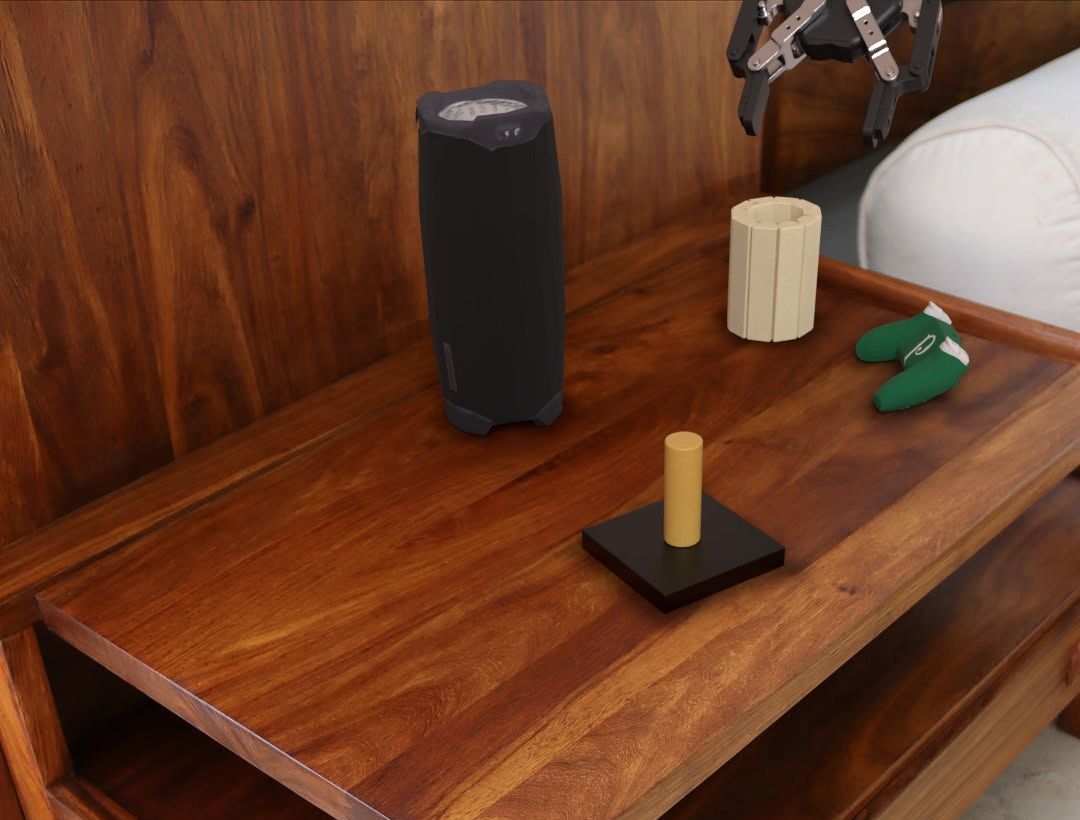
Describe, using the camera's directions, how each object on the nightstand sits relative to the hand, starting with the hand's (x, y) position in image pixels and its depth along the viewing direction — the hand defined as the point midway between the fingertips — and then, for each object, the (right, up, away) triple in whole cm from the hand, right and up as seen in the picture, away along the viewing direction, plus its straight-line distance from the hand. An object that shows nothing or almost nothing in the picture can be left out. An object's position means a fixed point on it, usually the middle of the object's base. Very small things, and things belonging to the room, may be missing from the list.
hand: (808, 136), depth 102 cm
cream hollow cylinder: (-2, -13, +2) cm, 13 cm away
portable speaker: (-21, -21, -6) cm, 30 cm away
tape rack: (-11, -32, -21) cm, 40 cm away
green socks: (+5, -19, -6) cm, 21 cm away
